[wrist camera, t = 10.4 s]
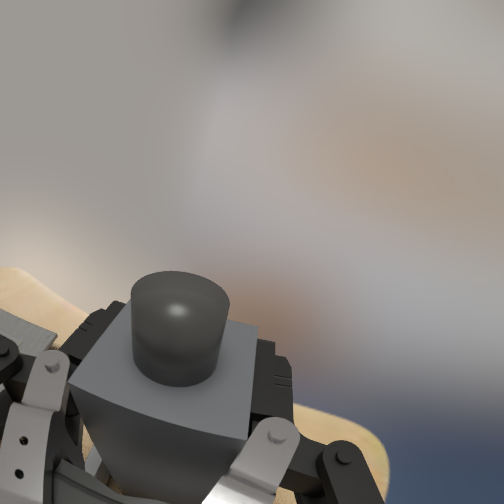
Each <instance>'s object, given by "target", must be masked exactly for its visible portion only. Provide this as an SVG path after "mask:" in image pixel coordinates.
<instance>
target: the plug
mask: <svg viewBox="0 0 504 504" xmlns="http://www.w3.org/2000/svg"><path fill="white" fill-rule="evenodd" d="M229 306H230V303H229V298H228V296H227V294H226V293H225V291H224V290H223V289H222V288H221V287H220V286H218V285H217V284H215V283H214V282H212V281H210V280H209V279H206V278H204V277H201V276H198V275H195V274H191V273H186V272H179V271H164V272H157V273H153V274H149V275H147V276H144V277H143V278H141V279H140V280H138V281H137V282H136V283H135V284H134V286H133V287H132V290H131V299H130V300H129V302H128V303H127V304H126V305H125V306H124V308H123V309H122V310H121V311H120V313H119V314H118V315H117V316H116V318H115V319H114V320H113V321H112V323H111V324H110V325H109V326H108V328H107V329H106V330H105V332H104V333H103V334H102V335H101V337H100V338H99V339H98V341H97V342H96V343H95V345H94V346H93V347H92V349H91V350H90V351H89V353H88V354H87V355H86V357H85V358H84V359H83V361H82V362H81V363H80V365H79V366H78V367H77V369H76V370H75V372H74V373H73V374H72V376H71V377H70V379H69V380H68V381H67V382H68V385H69V388H70V391H71V393H72V396H73V399H74V401H75V404H76V406H77V409H78V411H79V413H80V416H81V418H82V420H83V422H84V425H85V427H86V429H87V431H88V433H89V435H90V437H91V439H92V441H93V443H94V445H95V447H96V449H97V451H98V453H99V455H100V457H101V459H102V460H103V462H104V464H105V466H106V468H107V469H108V471H109V473H110V474H111V476H112V478H113V479H114V481H115V483H116V484H117V486H118V487H119V489H120V490H121V492H122V493H123V495H125V496H130V497H137V498H145V499H154V500H159V501H162V502H166V503H169V504H202V502H203V501H204V500H205V499H206V497H207V496H208V495H209V493H210V492H211V491H212V489H213V488H214V486H215V485H216V484H217V482H218V481H219V480H220V478H221V477H222V476H223V474H224V473H225V472H227V470H228V469H229V468H230V466H231V465H232V463H233V462H234V460H235V459H236V457H237V456H238V454H239V453H240V451H241V450H243V448H244V446H245V444H246V442H247V438H248V428H249V418H250V408H251V398H252V388H253V377H254V366H255V356H256V345H257V334H258V327H257V326H253V325H248V324H244V323H240V322H235V321H231V320H227V316H228V310H229Z"/></svg>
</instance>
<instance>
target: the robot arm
mask: <svg viewBox="0 0 504 504" xmlns="http://www.w3.org/2000/svg"><path fill="white" fill-rule="evenodd" d="M125 305H126V304H124V303H122V302H118V301H113V302H112V303H111V304H110V306H109V307H108V308H107V309H106V310H104V309H100V310H97V311H95V312H93V313H91V314H90V315H89V316H88V317H87V318H86V319H85V321H84V323H82V324H81V325H80V326H79V328H77V329H76V330H75V331H74V333H73V334H72V335H71V336H70V337H69V338H68V339H67V340H66V342H65V343H64V344H63V345H62V346H61V347H60V348H59V349H58V350H47V351H44V352H42V353H40V354H39V355H38V356H37V357H35V356H31V355H26V354H22V353H20V351H19V348H18V346H17V344H16V343H15V342H14V341H12V340H8V339H3V340H0V385H1V384H3V386H4V388H5V389H3V390H2V391H1V392H0V439H1V438H2V437H3V438H2V443H1V448H0V504H169V503H166V502H162V501H159V500H154V499H145V498H137V497H130V496H124V495H120V494H118V493H116V492H114V491H113V490H112V489H110V488H109V487H107V486H106V485H104V484H103V483H102V482H100V481H99V480H98V479H96V478H95V477H94V476H92V475H91V474H90V473H88V472H86V471H85V463H84V458H83V455H82V437H83V425H84V422H83V420H82V418H81V416H80V413H79V411H78V409H77V406H76V404H75V401H74V399H73V396H72V393H71V391H70V388H69V385H68V382H67V381H68V380H69V379H70V377H71V376H72V374H73V373H74V372H75V370H76V369H77V367H78V366H79V365H80V363H81V362H82V361H83V359H84V358H85V357H86V355H87V354H88V353H89V351H90V350H91V349H92V347H93V346H94V345H95V343H96V342H97V341H98V339H99V338H100V337H101V335H102V334H103V333H104V332H105V330H106V329H107V328H108V326H109V325H110V324H111V323H112V321H113V320H114V319H115V318H116V316H117V315H118V314H119V313H120V311H121V310H122V309H123V308H124V306H125ZM291 379H292V371H291V366H290V364H289V362H288V360H287V359H286V357H282V356H277V355H275V342H272V341H266V340H262V339H257V345H256V356H255V366H254V377H253V388H252V398H251V408H250V418H249V428H248V438H247V442H246V444H245V446H244V448H243V450H241V451H240V453H239V454H238V456H237V457H236V459H235V460H234V462H233V463H232V465H231V466H230V468H229V469H228V470H227V472H225V473H224V474H223V476H222V477H221V478H220V480H219V481H218V482H217V484H216V485H215V486H214V488H213V489H212V491H211V492H210V493H209V495H208V496H207V497H206V499H205V500H204V501H203V502H202V504H273V502H274V499H275V497H276V494H275V493H276V490H277V488H278V486H279V487H282V488H285V489H288V490H291V491H294V495H295V499H296V502H297V504H384V501H383V499H382V497H381V494H380V492H379V490H378V488H377V485H376V483H375V481H374V479H373V476H372V474H371V472H370V470H369V467H368V465H367V463H366V461H365V458H364V456H363V454H362V452H361V450H360V449H359V448H358V447H357V446H356V445H354V444H353V443H351V442H348V441H344V440H338V441H334V442H331V443H330V444H328V445H324V444H321V443H319V442H316V441H313V440H310V439H308V438H306V437H305V436H303V435H302V434H301V433H300V432H299V431H298V429H297V427H296V426H295V424H294V420H293V395H292V380H291Z"/></svg>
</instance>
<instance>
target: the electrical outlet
mask: <svg viewBox="0 0 504 504" xmlns="http://www.w3.org/2000/svg"><path fill="white" fill-rule="evenodd" d="M57 337H58V336H57V333H54V332H52V331H49V330H47V329H44V328H42V327H39V326H37V325H35V324H32V323H30V322H28V321H25V320H23V319H21V318H19V317H17V316H15V315H12V314H10V313H8V312H6V311H4V310H2V309H0V340H3V339H8V340H12V341H14V342H15V343H16V344H17V346H18V348H19V351H20V353H22V354H26V355H31V356H35V357H37V356H38V355H39V354H40V353H42V352H44V351H47V350H48V349H49V348H50V346H51V345H52V344H53V342H54V341H55V339H56V338H57ZM3 389H5V388H4V386H3V384H1V385H0V392H1V391H2V390H3Z"/></svg>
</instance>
